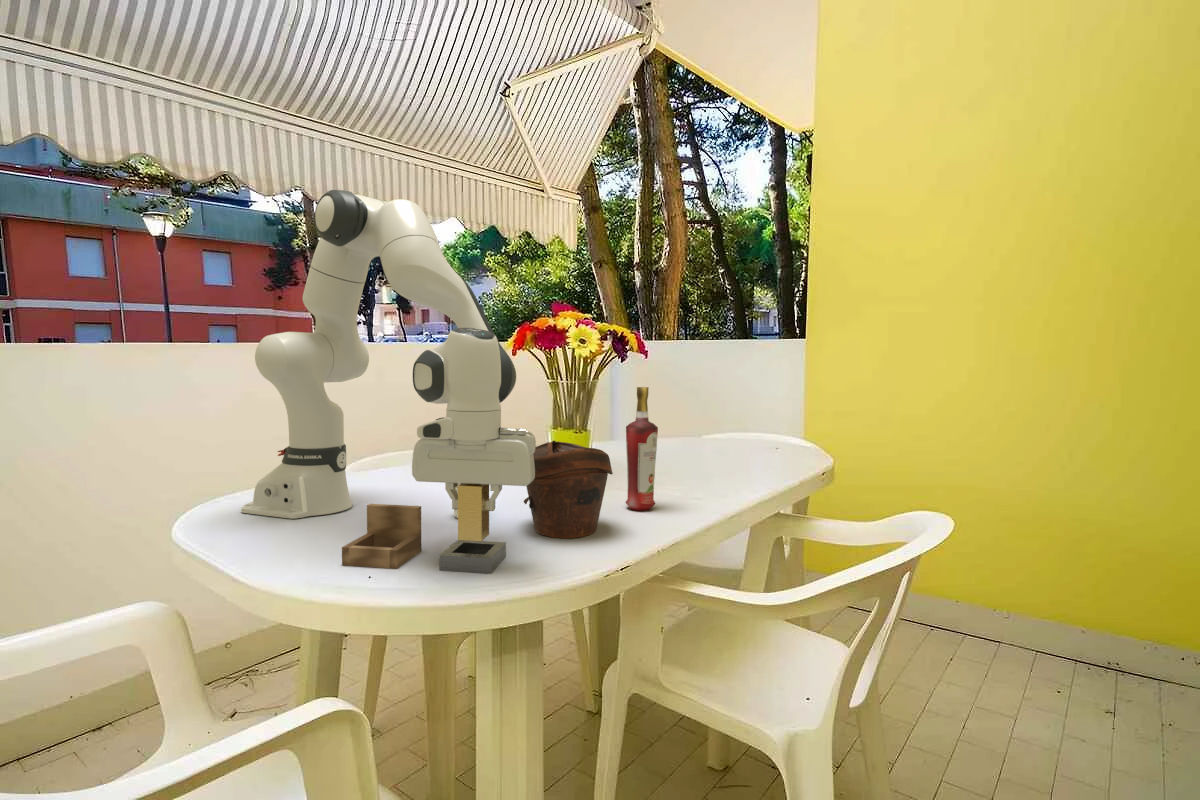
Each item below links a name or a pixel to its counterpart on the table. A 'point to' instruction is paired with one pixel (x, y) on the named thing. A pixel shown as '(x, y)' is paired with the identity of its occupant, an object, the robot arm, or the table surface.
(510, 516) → the table surface
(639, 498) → the liquor
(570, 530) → the case
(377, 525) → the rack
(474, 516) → the brass peg block
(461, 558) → the socket block
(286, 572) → the table surface
